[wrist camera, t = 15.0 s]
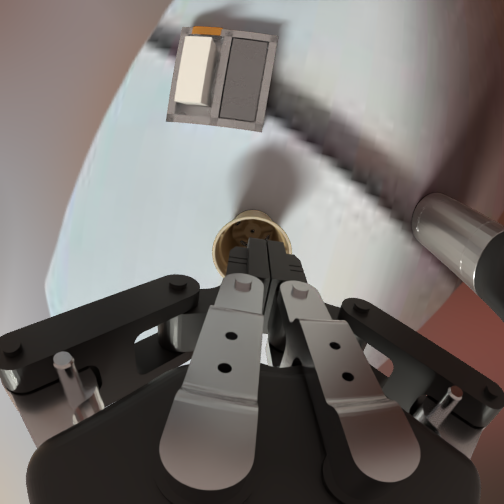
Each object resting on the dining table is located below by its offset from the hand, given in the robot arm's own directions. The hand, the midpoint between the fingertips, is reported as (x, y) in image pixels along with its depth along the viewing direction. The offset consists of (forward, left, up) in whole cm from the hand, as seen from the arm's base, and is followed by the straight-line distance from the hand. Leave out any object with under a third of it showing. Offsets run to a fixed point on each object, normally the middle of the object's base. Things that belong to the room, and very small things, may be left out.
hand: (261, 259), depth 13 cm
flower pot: (-1, +9, -29) cm, 31 cm away
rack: (+6, -12, -29) cm, 32 cm away
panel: (+9, -12, -28) cm, 32 cm away
